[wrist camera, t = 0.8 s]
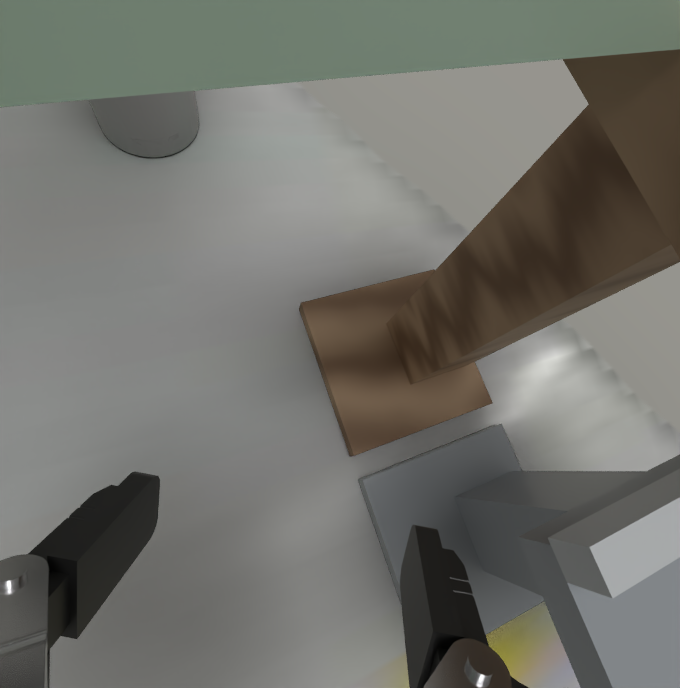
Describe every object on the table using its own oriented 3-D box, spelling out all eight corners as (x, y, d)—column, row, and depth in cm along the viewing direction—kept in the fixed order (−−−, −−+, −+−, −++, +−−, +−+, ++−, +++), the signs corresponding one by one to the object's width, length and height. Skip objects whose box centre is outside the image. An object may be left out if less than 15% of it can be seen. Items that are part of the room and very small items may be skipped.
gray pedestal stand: (347, 483, 34) (574, 514, 10) (501, 422, 39) (906, 344, 15) (408, 665, 31) (937, 1315, 7) (567, 575, 36) (1211, 787, 12)
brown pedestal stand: (288, 311, 37) (441, -323, 7) (436, 274, 42) (896, -213, 12) (339, 460, 34) (928, 391, 4) (492, 402, 39) (1287, 177, 9)
